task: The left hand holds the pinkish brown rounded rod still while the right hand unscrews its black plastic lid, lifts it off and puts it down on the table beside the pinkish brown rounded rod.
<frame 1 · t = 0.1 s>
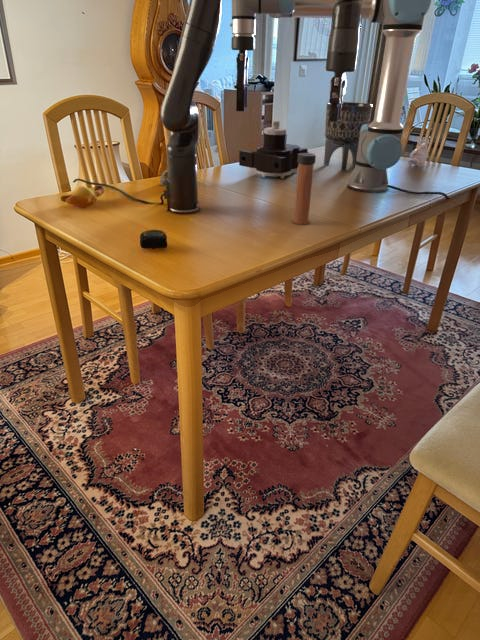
left hand: (334, 119, 123), 29 cm above the table, tool pointing down, fingers open, 8 cm apart
right hand: (241, 109, 155), 28 cm above the table, tool pointing down, fingers open, 13 cm apart
mechanical component: (280, 173, 196), on the table
toy: (86, 204, 151), on the table
lid: (306, 155, 129), point 19 cm above the table, screwed on, not yet turned
pinkish brown rounded rod: (300, 222, 139), on the table
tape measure: (155, 248, 118), on the table
planter: (341, 167, 211), on the table
rock: (178, 184, 177), on the table
figurine: (416, 165, 217), on the table
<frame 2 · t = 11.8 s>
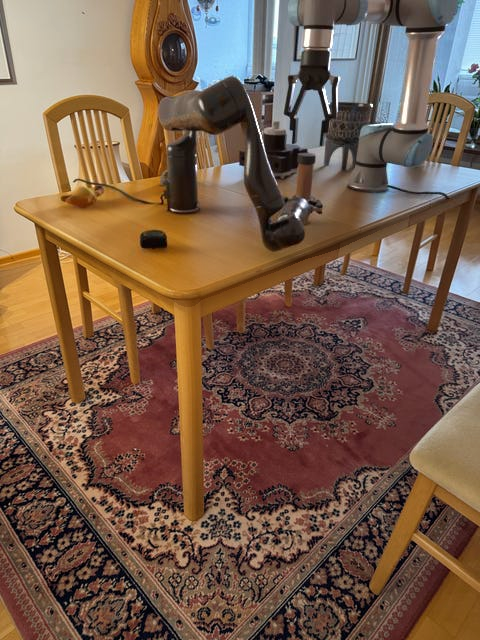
left hand: (304, 198, 138), 7 cm above the table, tool horizontal, fingers closed on pinkish brown rounded rod, 4 cm apart
right hand: (307, 144, 128), 23 cm above the table, tool pointing down, fingers open, 7 cm apart
pinkish brown rounded rod: (300, 222, 139), on the table, touching left hand
everything else where it was.
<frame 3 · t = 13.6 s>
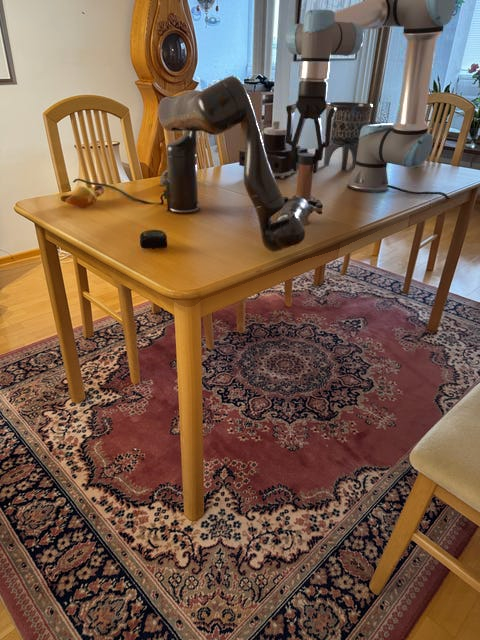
left hand: (304, 198, 138), 6 cm above the table, tool horizontal, fingers closed on pinkish brown rounded rod, 4 cm apart
right hand: (305, 170, 131), 15 cm above the table, tool pointing down, fingers closed on lid, 5 cm apart
lid: (306, 155, 129), point 19 cm above the table, screwed on, not yet turned, touching right hand
pinkish brown rounded rod: (300, 222, 139), on the table, touching left hand
everything else where it was.
when the right hand's fingers open (15 cm above the table, at t = 14.7 s): lid stays where it is, point 20 cm above the table.
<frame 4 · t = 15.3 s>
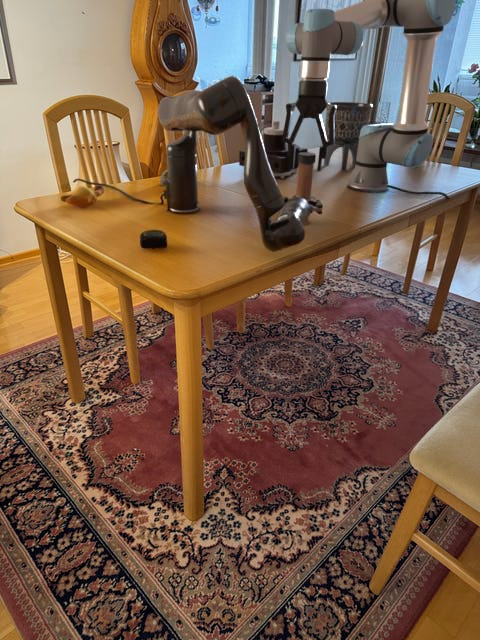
left hand: (304, 198, 138), 7 cm above the table, tool horizontal, fingers closed on pinkish brown rounded rod, 4 cm apart
right hand: (305, 169, 131), 16 cm above the table, tool pointing down, fingers open, 7 cm apart
lid: (306, 155, 129), point 20 cm above the table, turned 70° so far, risen 0.2 cm, still on its thread
pinkish brown rounded rod: (300, 222, 139), on the table, touching left hand
everything else where it was.
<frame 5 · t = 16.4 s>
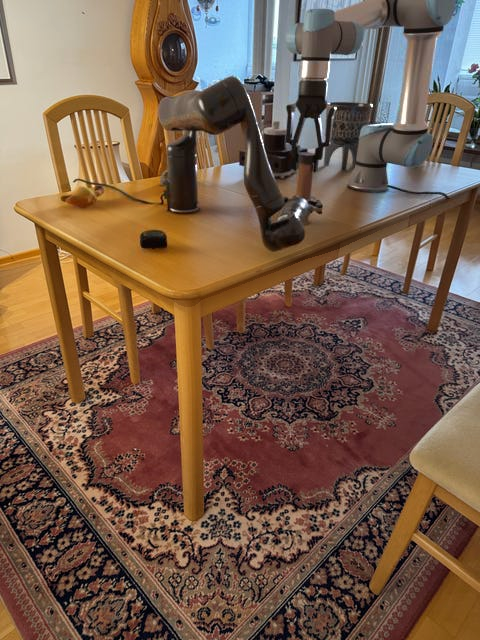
left hand: (304, 198, 138), 6 cm above the table, tool horizontal, fingers closed on pinkish brown rounded rod, 4 cm apart
right hand: (305, 170, 131), 15 cm above the table, tool pointing down, fingers closed on lid, 5 cm apart
lid: (306, 155, 129), point 20 cm above the table, turned 70° so far, risen 0.2 cm, still on its thread, touching right hand
pinkish brown rounded rod: (300, 222, 139), on the table, touching left hand
everything else where it was.
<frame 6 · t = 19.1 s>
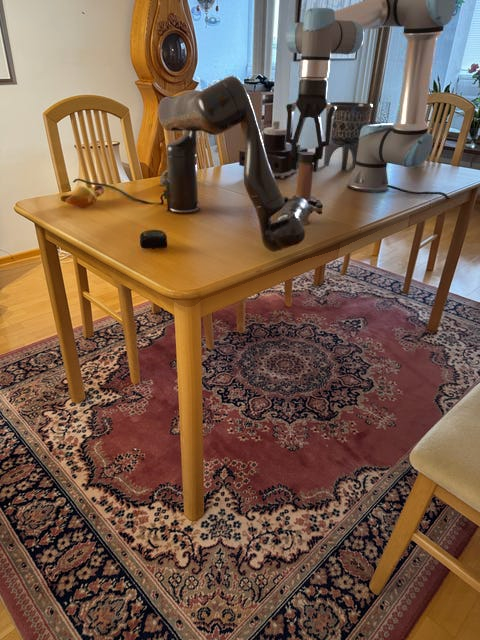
left hand: (303, 198, 138), 6 cm above the table, tool horizontal, fingers closed on pinkish brown rounded rod, 4 cm apart
right hand: (305, 169, 131), 16 cm above the table, tool pointing down, fingers closed on lid, 5 cm apart
lid: (306, 154, 129), point 20 cm above the table, turned 141° so far, risen 0.3 cm, still on its thread, touching right hand
pinkish brown rounded rod: (300, 222, 139), on the table, touching left hand
everything else where it was.
when the right hand's fingers open (0 cm above the table, at t = 24.9 s): lid drops 2 cm, point 2 cm above the table.
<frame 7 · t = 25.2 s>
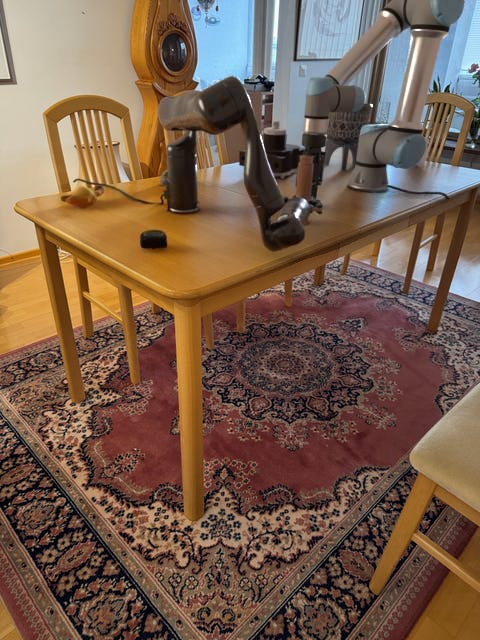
left hand: (304, 198, 138), 7 cm above the table, tool horizontal, fingers closed on pinkish brown rounded rod, 4 cm apart
right hand: (306, 206, 154), 0 cm above the table, tool pointing down, fingers open, 6 cm apart
lid: (307, 200, 153), point 2 cm above the table, off its thread
pinkish brown rounded rod: (300, 222, 139), on the table, touching left hand
everything else where it was.
when the left hand's fingers open (7 cm above the table, at t = 26.0 s): pinkish brown rounded rod stays where it is, on the table.
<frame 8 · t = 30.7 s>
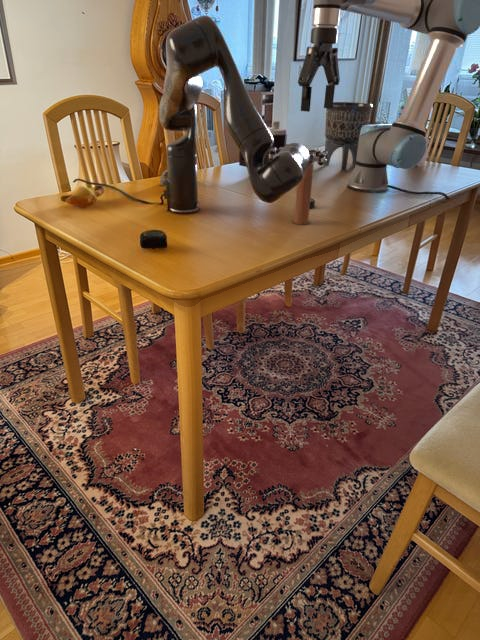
left hand: (302, 151, 119), 22 cm above the table, tool horizontal, fingers open, 8 cm apart
right hand: (316, 109, 139), 30 cm above the table, tool pointing down, fingers open, 13 cm apart
pinkish brown rounded rod: (300, 222, 139), on the table
everything else where it was.
at the end: lid came off its thread; lid point 1.9 cm above the table; the left hand is holding nothing; the right hand is holding nothing; pinkish brown rounded rod tilted 0°; pinkish brown rounded rod moved 0.0 cm from its start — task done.
